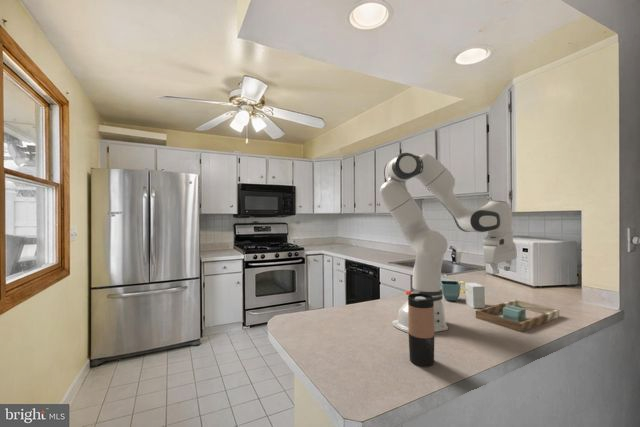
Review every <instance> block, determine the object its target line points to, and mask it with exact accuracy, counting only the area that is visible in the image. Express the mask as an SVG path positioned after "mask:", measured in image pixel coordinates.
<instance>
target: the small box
mask: <svg viewBox="0 0 640 427" xmlns="http://www.w3.org/2000/svg"><path fill="white" fill-rule="evenodd" d="M464 286H465V288H464V289H465V290H464V292H465V304H466V305H467V306H469V307H471V308H473V309H484V308H486V297H485V296H486V295H485V292H486V291H485V286H484V285H482V284H480V283H478V282H465V285H464Z"/></svg>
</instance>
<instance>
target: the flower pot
mask: <svg viewBox="0 0 640 427" xmlns="http://www.w3.org/2000/svg"><path fill="white" fill-rule="evenodd" d="M459 283H460V281H458V280H441V289H442V293H443V295H442V296H443V297H444V299H445V301H449V302H450V301H453V302H456V301H458V299H459V298H460V294H461V292H460V288H461V284H459Z"/></svg>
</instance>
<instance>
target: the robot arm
mask: <svg viewBox="0 0 640 427" xmlns="http://www.w3.org/2000/svg"><path fill="white" fill-rule="evenodd" d="M383 176H384V182H383V183H382V185H381V186H380V188H379V194H380V197H381V199H382V201H383V203H384V205H385V207H386V208H387V210H388V211H389V213H390V216H392V218H393V219H394V220H395V223H396V224H397V225H398V227H399V230H400V231H401V232H402V235H403V237H404V238H405V240H406V242H407V244H408V245H409V247H410V249H411V250H412V251H413V252H414V253H415V259H414V260H415V261H414V264H413V265H414V266H413V268H412V288H411V290H409V289H406V290H405V295H406V296H409V295H410V294H417V293H418V294H427V295H430V296H432V297H433V299H434V333H435V332H436V333H437V332H442V331H447V330H449V328H448V327H449V326H448V325H447V322H446V315H445V314H446V313H445V307H444V304H443V300H442V299H443V296H444V295H443V293H442V289H441V281H442V266H443V261H444V256H445V254H446V252H447V250H448V241H447V238H445V236H444V235H443V234H441V233H440V232H439V231H437V230H433V229H431V228H429V226H428V224H427V222H426V219H425V217H424V213H423V211H422V210H421V208H420V207H419V205H418V203H417V202H416V200H414V198H413V196H412V195H411V193H410V192H409V191H408V188H407V184H406V183H407V181H409V180H410V179H412V178H415V179H417V180H419V181H420V183H422V185H423V186H425V188H426V189H427V190H428V191H429V192H430V193H432V195H434V197H436V199H437V200H439V202H440V203H441V204H442V205H443V206H444V208H445V209H446V210H447V211H448V212H449V213H450V214H451V216H452V217H453V220H454V223H455V224H456V227H457V228H458V229H459V230H460V231H462V232H466V233H470V232H471V233H486V232H487V235H486V236H485V237H484V238H483V239H482V243H481V244H482V245H484V246H483V248H482V249H483V260H484V262H485V263H484V264H487V265H488V264H489V265H490V267H491V269H492V273H493V274H494V275H499V274H500V269H499V267H498V266H499V264H500V263H505V264H504V271H505V272H508V271H511V266H512V263H513V261H512V260H516V259H517V257H518V256H517V245H516V243H515V242H514V233H513V232H514V230H513V229H512V224H513V215H512V209H511V206H510V204H509V202H507V201H503V200H489V201H488V202H487V203H486V204H485V205H483V206H481V207H478V208H477V209H470V208H468V207H465V206H464V205H463V204H462V202H461V201H460V200H459V198H457V197H456V196H455V194H454V191H453V190H454V189H455V185H456V178H455V177H454V175H453V174H452V173H451V171H450V170H449V169H448V168H447V167H446V166H445V165H444V164H442V162H441V161H439V160H438V159H437V158H435V156H433V155H431V154H429V153H422V154H420V155H415V154H414V153H410V152H402V153H399V154H397V155H396V156H394V157H392V158H391V159H390V160H389V161H388V162H387V163H386V164H385V166H384V169H383ZM391 325H392V326H394V327H395V328H397V329H398V330H400V331H403V332H405V333H407V334H408V300H407V301H406V302H404V304H403V305H402V306H401V307H400V308H399V309H398V313H397V319H394V320H392V321H391Z"/></svg>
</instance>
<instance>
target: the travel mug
mask: <svg viewBox="0 0 640 427" xmlns="http://www.w3.org/2000/svg"><path fill="white" fill-rule="evenodd" d="M407 301H408V333H407V334H408V349H409V360H410V362H411V363H412V364H413V365H415V366H418V367H423V368H429V367H432V366H433V365H434V363H435V332H434V299H433V297H432V296H430V295H427V294H418V293H417V294H410V295H407Z"/></svg>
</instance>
